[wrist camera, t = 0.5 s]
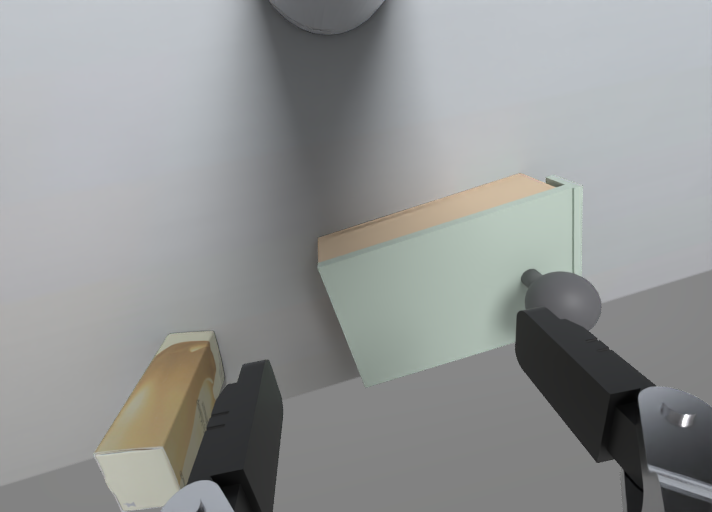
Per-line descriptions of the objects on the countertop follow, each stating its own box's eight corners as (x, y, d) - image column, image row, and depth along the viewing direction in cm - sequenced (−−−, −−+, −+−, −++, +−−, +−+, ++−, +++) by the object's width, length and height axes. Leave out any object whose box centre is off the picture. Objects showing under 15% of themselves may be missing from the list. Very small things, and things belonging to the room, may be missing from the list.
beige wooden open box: (356, 340, 35) (363, 378, 30) (317, 237, 29) (318, 264, 25) (528, 288, 34) (560, 317, 30) (520, 173, 29) (558, 188, 24)
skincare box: (226, 377, 35) (187, 508, 24) (181, 381, 35) (121, 516, 24) (214, 326, 32) (163, 448, 21) (165, 330, 32) (88, 456, 21)
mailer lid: (360, 362, 32) (376, 453, 24) (317, 250, 27) (318, 319, 19) (556, 302, 32) (639, 375, 24) (553, 174, 26) (659, 212, 18)
